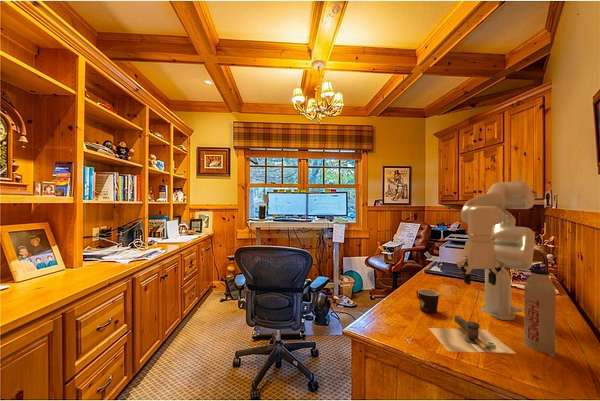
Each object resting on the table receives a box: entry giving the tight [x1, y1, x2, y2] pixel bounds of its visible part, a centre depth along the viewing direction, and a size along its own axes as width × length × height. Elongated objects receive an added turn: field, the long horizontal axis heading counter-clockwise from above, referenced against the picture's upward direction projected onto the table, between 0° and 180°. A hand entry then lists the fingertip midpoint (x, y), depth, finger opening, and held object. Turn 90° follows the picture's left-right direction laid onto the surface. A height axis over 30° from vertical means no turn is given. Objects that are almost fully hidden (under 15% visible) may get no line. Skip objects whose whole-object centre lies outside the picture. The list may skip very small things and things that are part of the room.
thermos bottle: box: [523, 268, 556, 358], centre depth 92 cm, size 8×8×28 cm
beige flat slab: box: [428, 327, 517, 355], centre depth 97 cm, size 22×16×2 cm
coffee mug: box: [416, 288, 440, 315], centre depth 123 cm, size 12×9×10 cm
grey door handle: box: [454, 315, 486, 348], centre depth 98 cm, size 18×4×5 cm, turn 176°
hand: (479, 283), depth 102 cm, fingers open, 8 cm apart
